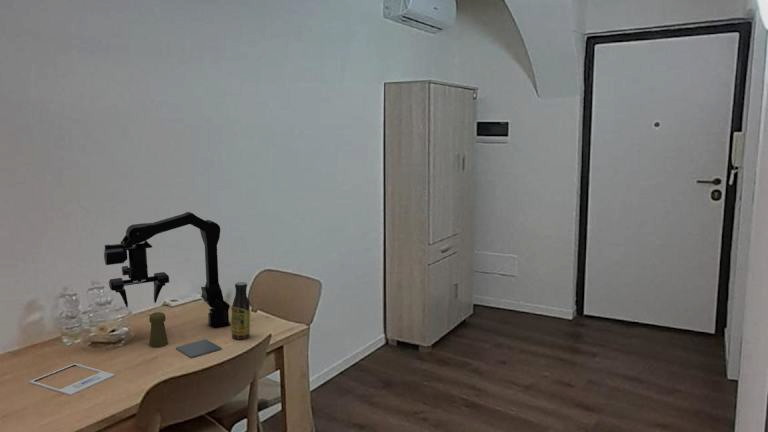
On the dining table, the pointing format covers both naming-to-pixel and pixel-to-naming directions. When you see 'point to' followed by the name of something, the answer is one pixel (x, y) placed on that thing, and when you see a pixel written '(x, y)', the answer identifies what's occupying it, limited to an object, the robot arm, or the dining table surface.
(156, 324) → the dark olive bulbous piece
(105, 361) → the dining table surface
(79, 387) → the photo frame
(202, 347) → the slate coaster
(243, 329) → the sauce bottle
